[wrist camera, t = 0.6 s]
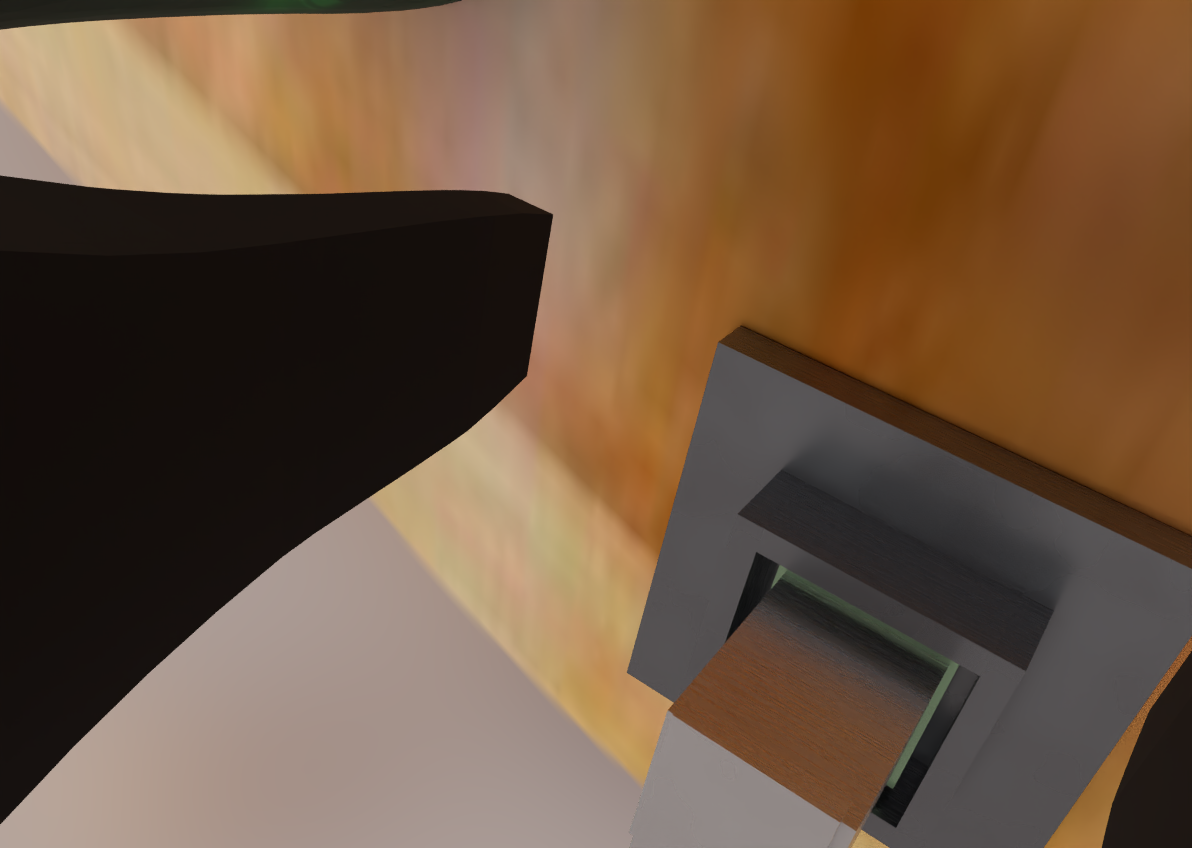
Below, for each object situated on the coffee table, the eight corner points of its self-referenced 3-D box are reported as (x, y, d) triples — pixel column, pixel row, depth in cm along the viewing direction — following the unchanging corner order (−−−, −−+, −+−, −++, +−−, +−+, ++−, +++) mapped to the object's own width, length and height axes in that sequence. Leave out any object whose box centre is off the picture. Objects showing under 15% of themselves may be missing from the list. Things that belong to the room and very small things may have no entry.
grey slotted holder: (1233, 556, 19) (1186, 742, 15) (1012, 878, 25) (936, 1073, 21) (740, 325, 23) (602, 427, 19) (646, 650, 28) (526, 779, 25)
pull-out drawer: (989, 609, 21) (864, 838, 16) (909, 758, 23) (781, 993, 19) (814, 516, 22) (651, 701, 18) (757, 667, 25) (602, 863, 20)
